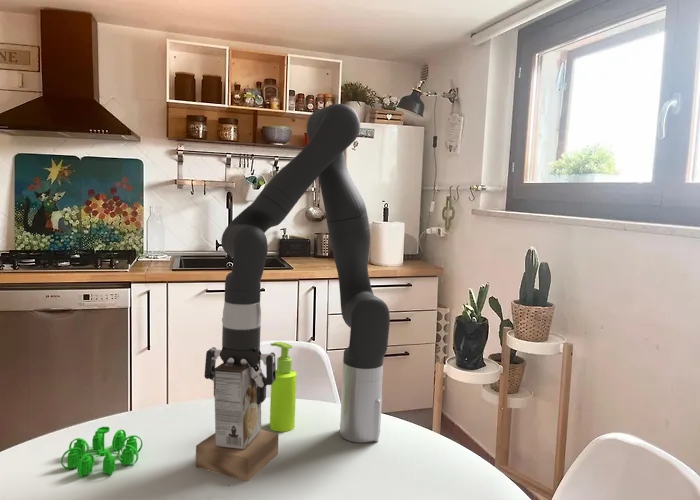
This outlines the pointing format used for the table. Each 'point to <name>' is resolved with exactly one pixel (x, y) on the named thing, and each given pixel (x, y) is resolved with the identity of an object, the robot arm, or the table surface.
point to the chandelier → (101, 452)
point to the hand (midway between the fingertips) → (239, 401)
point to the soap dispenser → (283, 392)
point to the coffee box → (235, 406)
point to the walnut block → (237, 456)
